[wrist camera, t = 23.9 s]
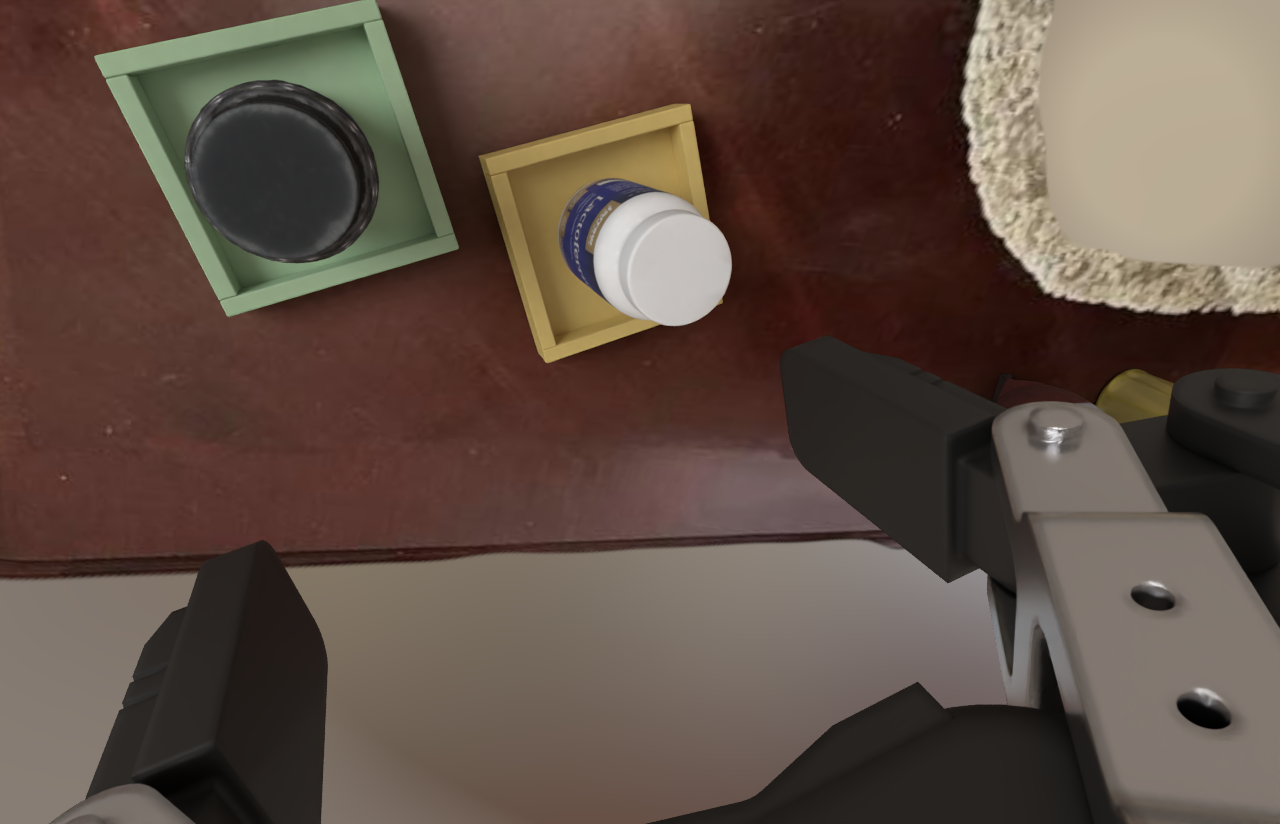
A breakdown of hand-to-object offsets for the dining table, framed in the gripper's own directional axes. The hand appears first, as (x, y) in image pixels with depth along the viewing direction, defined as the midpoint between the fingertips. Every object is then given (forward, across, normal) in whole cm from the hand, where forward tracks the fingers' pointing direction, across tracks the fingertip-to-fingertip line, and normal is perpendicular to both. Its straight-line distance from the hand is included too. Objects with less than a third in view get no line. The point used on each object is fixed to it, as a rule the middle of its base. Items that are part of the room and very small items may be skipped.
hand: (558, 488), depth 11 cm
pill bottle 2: (+27, -9, +3) cm, 29 cm away
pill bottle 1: (+27, +4, -4) cm, 28 cm away
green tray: (+28, +4, -4) cm, 28 cm away
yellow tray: (+28, -9, +3) cm, 29 cm away
